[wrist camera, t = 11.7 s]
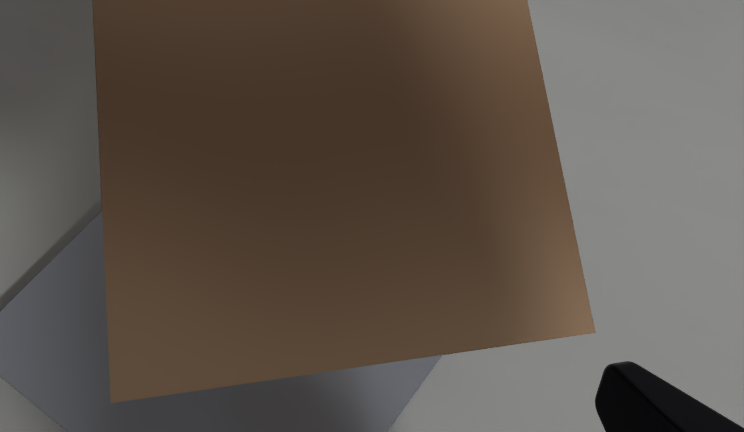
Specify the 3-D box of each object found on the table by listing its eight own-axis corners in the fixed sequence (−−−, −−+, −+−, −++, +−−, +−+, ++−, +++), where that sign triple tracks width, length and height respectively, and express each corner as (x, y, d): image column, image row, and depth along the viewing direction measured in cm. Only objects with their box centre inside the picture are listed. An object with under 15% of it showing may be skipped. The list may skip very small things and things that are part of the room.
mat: (267, 592, 17) (268, 597, 17) (-30, 346, 17) (-36, 346, 17) (529, 228, 22) (534, 226, 21) (289, 29, 21) (290, 23, 21)
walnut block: (370, 350, 19) (595, 333, 7) (206, 373, 18) (110, 402, 6) (350, 196, 20) (513, -67, 8) (193, 209, 19) (89, -72, 7)
